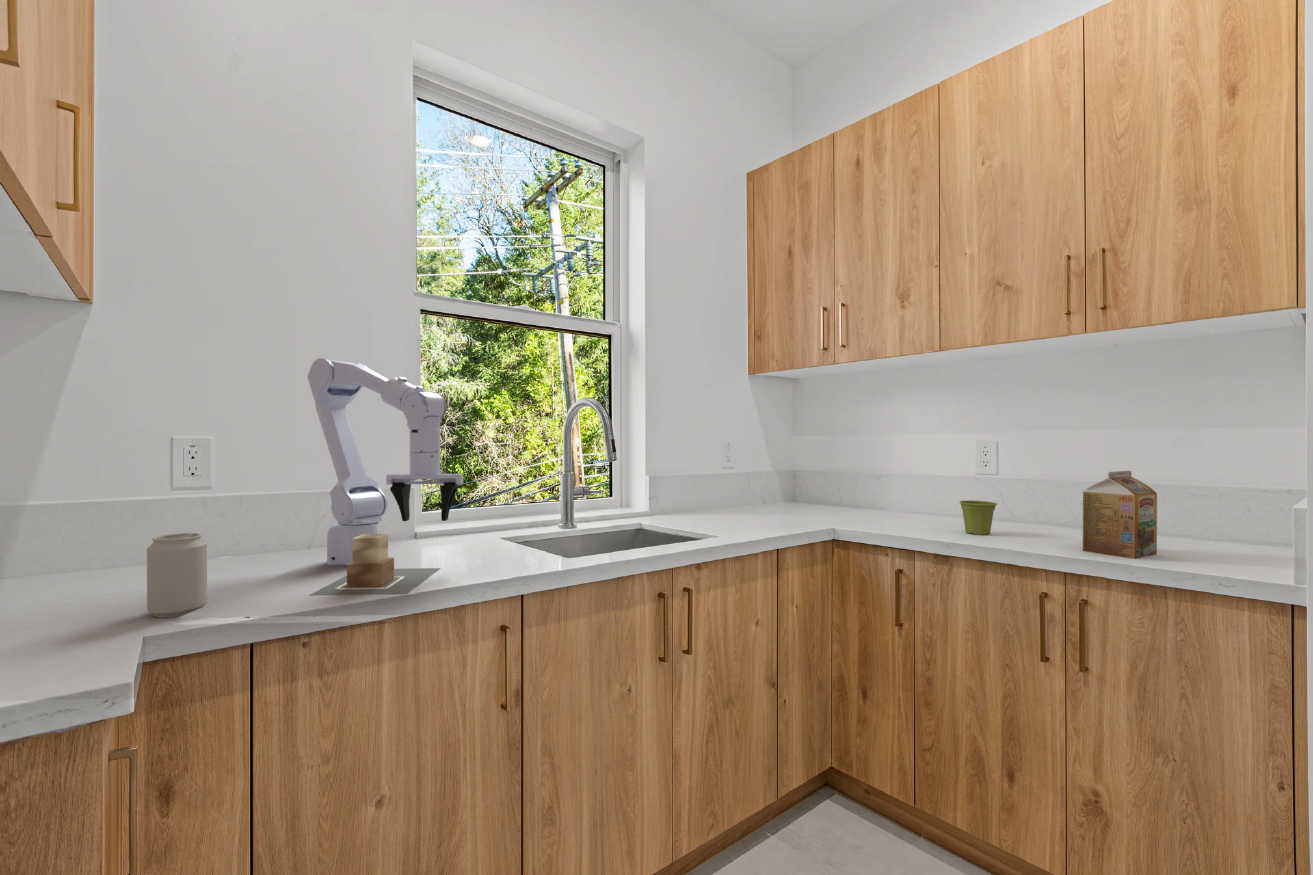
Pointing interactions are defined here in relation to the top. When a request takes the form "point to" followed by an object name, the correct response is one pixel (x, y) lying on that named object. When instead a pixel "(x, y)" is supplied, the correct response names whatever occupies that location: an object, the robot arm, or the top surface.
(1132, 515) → the milk carton
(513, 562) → the top surface
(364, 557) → the maple cube
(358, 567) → the walnut block
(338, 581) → the gray mat
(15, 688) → the top surface
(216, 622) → the top surface
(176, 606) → the can
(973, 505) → the plant pot
